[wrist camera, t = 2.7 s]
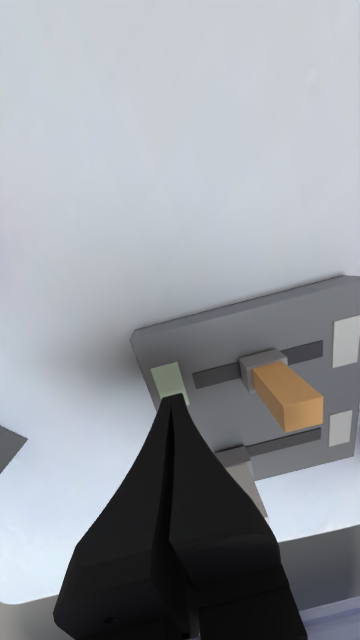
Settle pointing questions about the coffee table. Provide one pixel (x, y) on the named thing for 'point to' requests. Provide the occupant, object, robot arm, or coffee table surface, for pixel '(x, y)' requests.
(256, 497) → the white lever
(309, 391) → the orange lever
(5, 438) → the dice cube
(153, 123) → the coffee table surface
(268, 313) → the slider lever panel
